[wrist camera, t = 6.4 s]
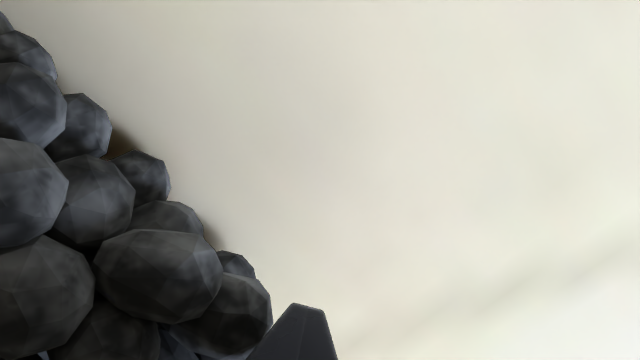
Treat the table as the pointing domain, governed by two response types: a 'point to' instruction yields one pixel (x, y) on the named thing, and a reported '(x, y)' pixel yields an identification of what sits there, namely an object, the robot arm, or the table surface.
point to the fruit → (103, 239)
